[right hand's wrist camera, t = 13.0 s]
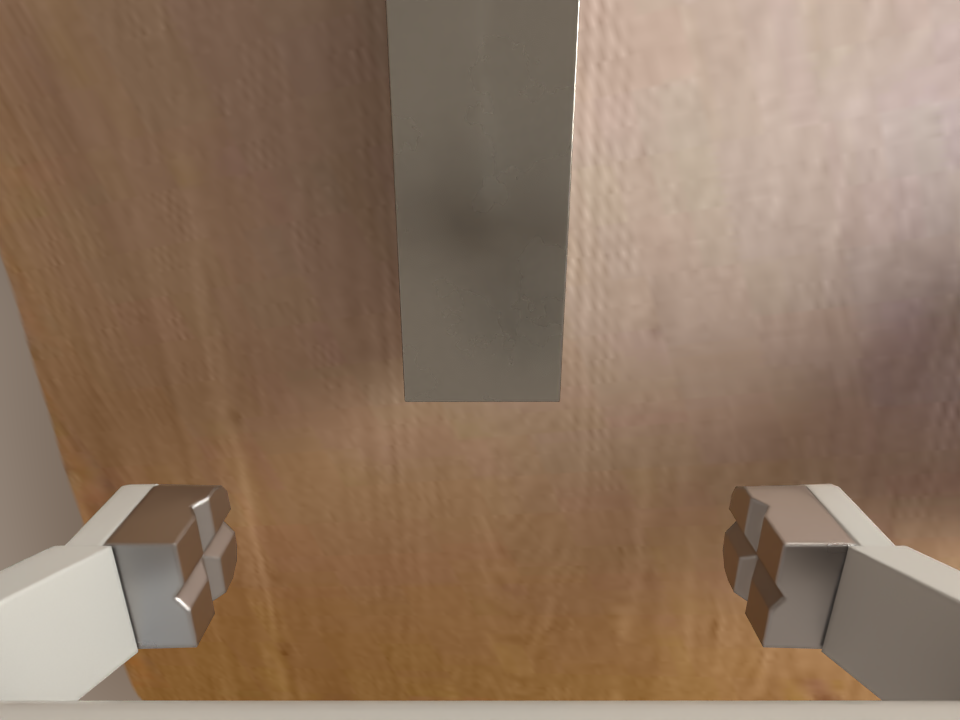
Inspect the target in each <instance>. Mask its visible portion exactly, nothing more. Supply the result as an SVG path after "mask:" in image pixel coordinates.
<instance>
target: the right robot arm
mask: <svg viewBox="0 0 960 720" xmlns="http://www.w3.org/2000/svg"><path fill="white" fill-rule="evenodd" d="M230 510H231V507H230V502H229V498H228V493H227V491H226V490H225V489H224V488H223V487H222V486H221V485H172V484H161V485H158V484H129V485H125V486H122V487H121V488H120V489H119V490H118V491H117V492H116V493H115V494H114V495H113V496H112V497H111V498H110V499H109V500H108V501H107V502H106V503H105V504H104V505H103V506H102V507H101V508H100V509H99V510H98V511H97V513H96V514H95V515H94V516H93V517H92V518H91V519H90V520H89V521H88V522H87V523H86V524H85V525H84V526H83V527H82V528H81V529H80V530H79V531H78V532H77V533H76V534H75V535H74V536H73V538H72V539H71V540H70V541H69V542H68V543H67V544H66V545H65V546H53V547H50V548H48V549H46V550H44V551H42V552H40V553H38V554H35V555H33V556H31V557H29V558H27V559H25V560H23V561H20V562H18V563H16V564H14V565H12V566H10V567H7V568H5V569H3V570H1V571H0V720H960V571H959V570H957V569H955V568H952V567H950V566H948V565H946V564H944V563H942V562H940V561H937V560H935V559H933V558H931V557H929V556H927V555H925V554H922V553H920V552H918V551H916V550H914V549H912V548H910V547H907V546H895V545H894V544H893V543H892V542H891V541H890V540H889V539H888V537H887V536H886V535H885V534H884V533H883V532H882V531H881V530H880V529H879V528H878V527H877V526H876V525H875V524H874V523H873V522H872V521H871V520H870V519H869V518H868V517H867V516H866V514H865V513H864V512H863V511H862V510H861V509H860V508H859V507H858V506H857V505H856V504H855V503H854V502H853V501H852V500H851V499H850V498H849V497H848V496H847V495H846V494H845V493H844V492H843V490H842V489H841V488H840V487H838V486H835V485H833V484H807V485H780V486H739V487H735V489H734V492H733V494H732V496H731V502H730V507H729V510H730V511H731V513H732V514H733V516H734V518H735V519H736V522H735V523H734V524H733V525H732V526H731V527H730V528H729V529H728V530H727V531H726V532H725V537H724V545H723V558H724V568H725V571H726V575H727V578H728V581H729V583H730V585H731V587H732V589H733V591H734V592H735V593H736V594H738V595H739V596H741V597H742V598H743V599H745V600H746V601H747V606H746V612H745V614H746V616H747V618H748V620H749V621H750V623H751V625H752V627H753V629H754V631H755V633H756V634H757V636H758V638H759V640H760V642H761V644H762V646H763V647H775V648H811V649H822V652H823V653H824V654H825V655H827V656H828V657H829V658H830V659H832V660H833V661H834V662H835V663H837V664H838V665H839V666H840V667H841V668H843V669H844V670H845V671H846V672H848V673H849V674H850V675H851V676H853V677H854V678H855V679H856V680H858V681H859V682H860V683H861V684H863V685H864V686H865V687H866V688H868V689H869V690H870V691H871V692H872V693H874V694H875V695H876V696H877V697H879V698H880V699H881V700H882V701H78V700H79V699H80V698H81V697H83V696H84V695H85V694H86V693H88V692H89V691H90V690H91V689H93V688H94V687H95V686H96V685H98V684H99V683H100V682H101V681H103V680H104V679H105V678H106V677H108V676H109V675H110V674H111V673H112V672H114V671H115V670H116V669H118V668H119V667H120V666H121V665H123V664H124V663H125V662H126V661H127V660H129V659H130V658H131V657H132V656H134V655H135V654H136V653H137V652H138V649H149V648H184V647H197V646H198V644H199V642H200V640H201V638H202V636H203V635H204V633H205V631H206V629H207V627H208V625H209V623H210V621H211V620H212V618H213V616H214V614H215V612H214V606H213V601H214V600H215V599H217V598H218V597H219V596H221V595H222V594H224V593H225V592H226V591H227V589H228V587H229V585H230V583H231V581H232V579H233V575H234V570H235V566H236V562H237V543H236V537H235V532H234V531H233V530H232V529H231V528H230V527H229V526H228V525H227V524H226V523H225V522H224V519H225V518H226V516H227V514H228V513H229V511H230Z"/></svg>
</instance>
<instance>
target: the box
mask: <svg viewBox="0 0 960 720" xmlns="http://www.w3.org/2000/svg"><path fill="white" fill-rule="evenodd" d="M579 8H580V0H386V21H387V42H388V62H389V83H390V104H391V125H392V146H393V167H394V187H395V208H396V229H397V250H398V271H399V292H400V312H401V333H402V354H403V375H404V396H405V402H559V401H560V389H561V369H562V348H563V329H564V308H565V289H566V268H567V248H568V228H569V208H570V188H571V168H572V148H573V128H574V108H575V88H576V68H577V48H578V28H579Z"/></svg>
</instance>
